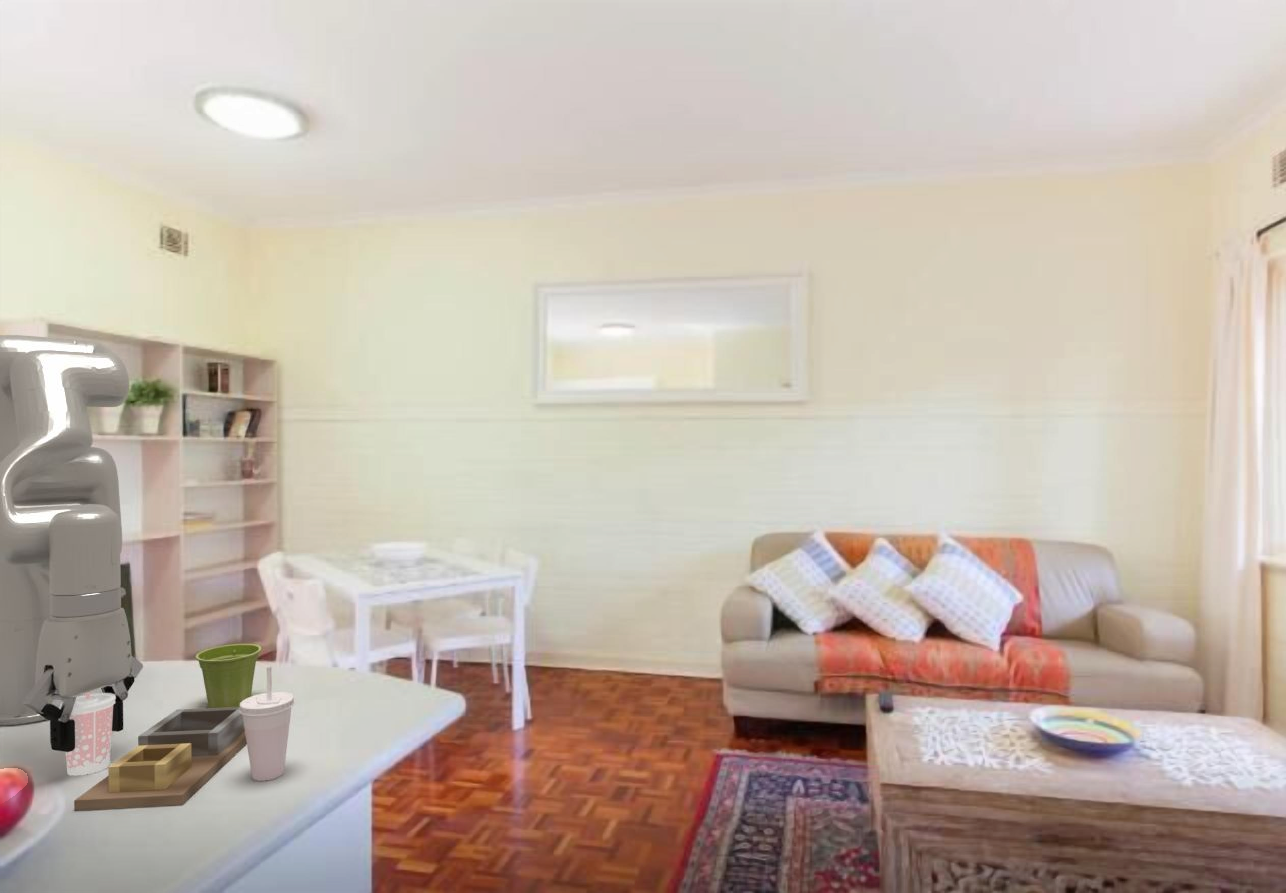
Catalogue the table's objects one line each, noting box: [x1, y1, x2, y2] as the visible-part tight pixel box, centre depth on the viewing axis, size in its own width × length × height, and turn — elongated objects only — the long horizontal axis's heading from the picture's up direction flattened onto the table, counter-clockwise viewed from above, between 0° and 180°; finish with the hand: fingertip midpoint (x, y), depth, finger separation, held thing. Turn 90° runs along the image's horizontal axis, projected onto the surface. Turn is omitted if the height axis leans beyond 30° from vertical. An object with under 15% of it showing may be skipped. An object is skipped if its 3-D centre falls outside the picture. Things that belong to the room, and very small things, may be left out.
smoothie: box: [239, 665, 295, 782], centre depth 98 cm, size 6×6×14 cm
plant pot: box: [195, 643, 262, 708], centre depth 125 cm, size 9×9×9 cm
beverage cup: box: [59, 692, 116, 777], centre depth 100 cm, size 6×6×14 cm
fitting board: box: [73, 707, 247, 811], centre depth 100 cm, size 22×12×4 cm, turn 6°
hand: (88, 738), depth 100 cm, fingers closed on beverage cup, 6 cm apart
